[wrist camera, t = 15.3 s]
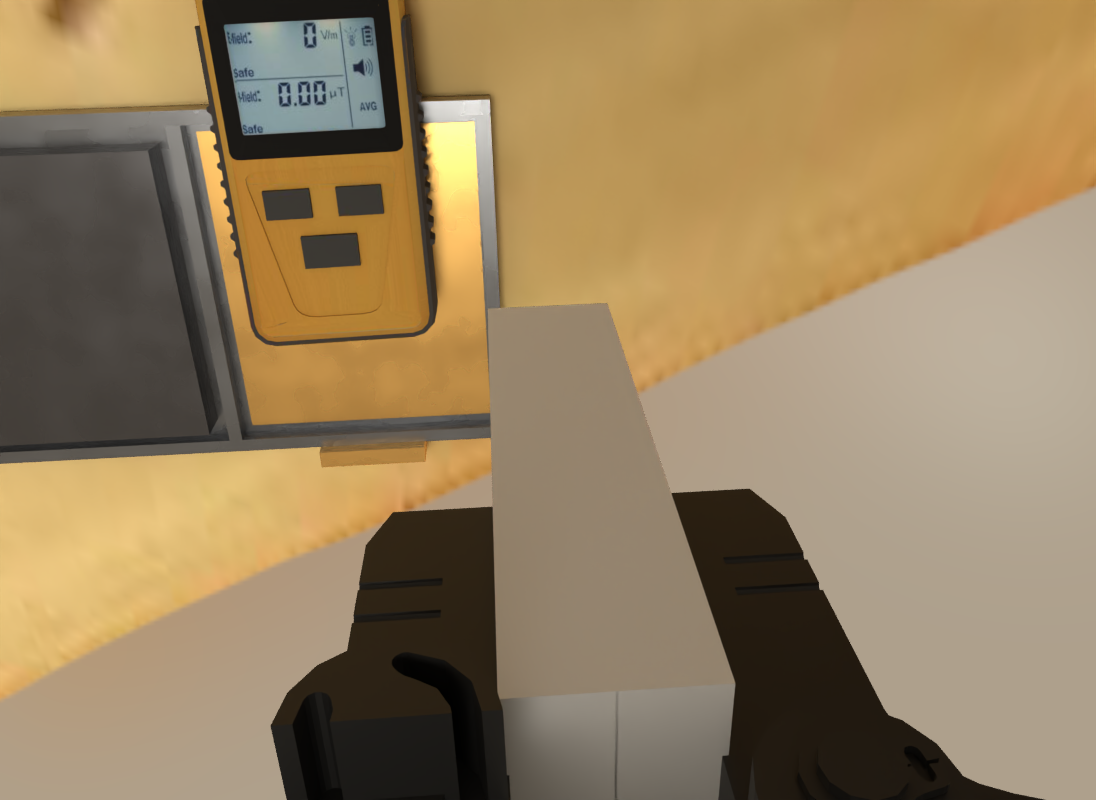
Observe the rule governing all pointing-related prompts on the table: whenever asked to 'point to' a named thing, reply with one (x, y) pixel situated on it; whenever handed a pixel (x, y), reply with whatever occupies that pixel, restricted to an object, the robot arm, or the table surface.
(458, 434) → the grey flat frame
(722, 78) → the table surface
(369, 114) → the electronic device
